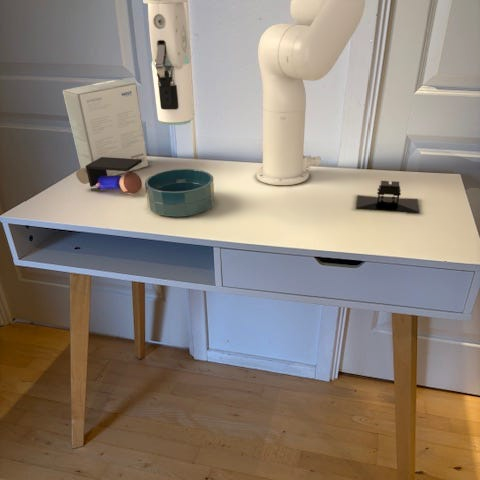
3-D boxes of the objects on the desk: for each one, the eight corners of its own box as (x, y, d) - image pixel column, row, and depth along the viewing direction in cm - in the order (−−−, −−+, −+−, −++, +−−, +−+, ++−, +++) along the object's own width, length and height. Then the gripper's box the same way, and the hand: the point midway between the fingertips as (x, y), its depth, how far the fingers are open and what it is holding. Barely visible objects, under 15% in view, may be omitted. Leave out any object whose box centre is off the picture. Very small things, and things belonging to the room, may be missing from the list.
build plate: (417, 200, 104) (421, 179, 102) (418, 214, 99) (423, 192, 96) (357, 196, 107) (360, 175, 104) (355, 209, 101) (358, 188, 98)
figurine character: (80, 198, 115) (134, 199, 109) (70, 165, 110) (125, 164, 104) (98, 188, 120) (150, 188, 114) (89, 156, 115) (142, 155, 109)
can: (187, 127, 92) (181, 54, 85) (152, 125, 94) (143, 54, 87) (199, 117, 98) (194, 49, 91) (166, 116, 99) (159, 49, 92)
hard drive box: (133, 160, 132) (120, 78, 120) (149, 166, 127) (138, 82, 116) (80, 174, 124) (61, 88, 112) (95, 182, 119) (77, 93, 107)
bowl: (202, 188, 113) (200, 165, 110) (224, 211, 103) (223, 185, 99) (142, 199, 109) (138, 174, 106) (157, 223, 99) (154, 197, 95)
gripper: (173, -6, 76) (184, 115, 86) (196, -11, 90) (203, 94, 100) (126, -5, 77) (142, 115, 87) (156, -9, 91) (167, 94, 101)
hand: (174, 103), depth 94 cm, fingers closed on can, 7 cm apart
